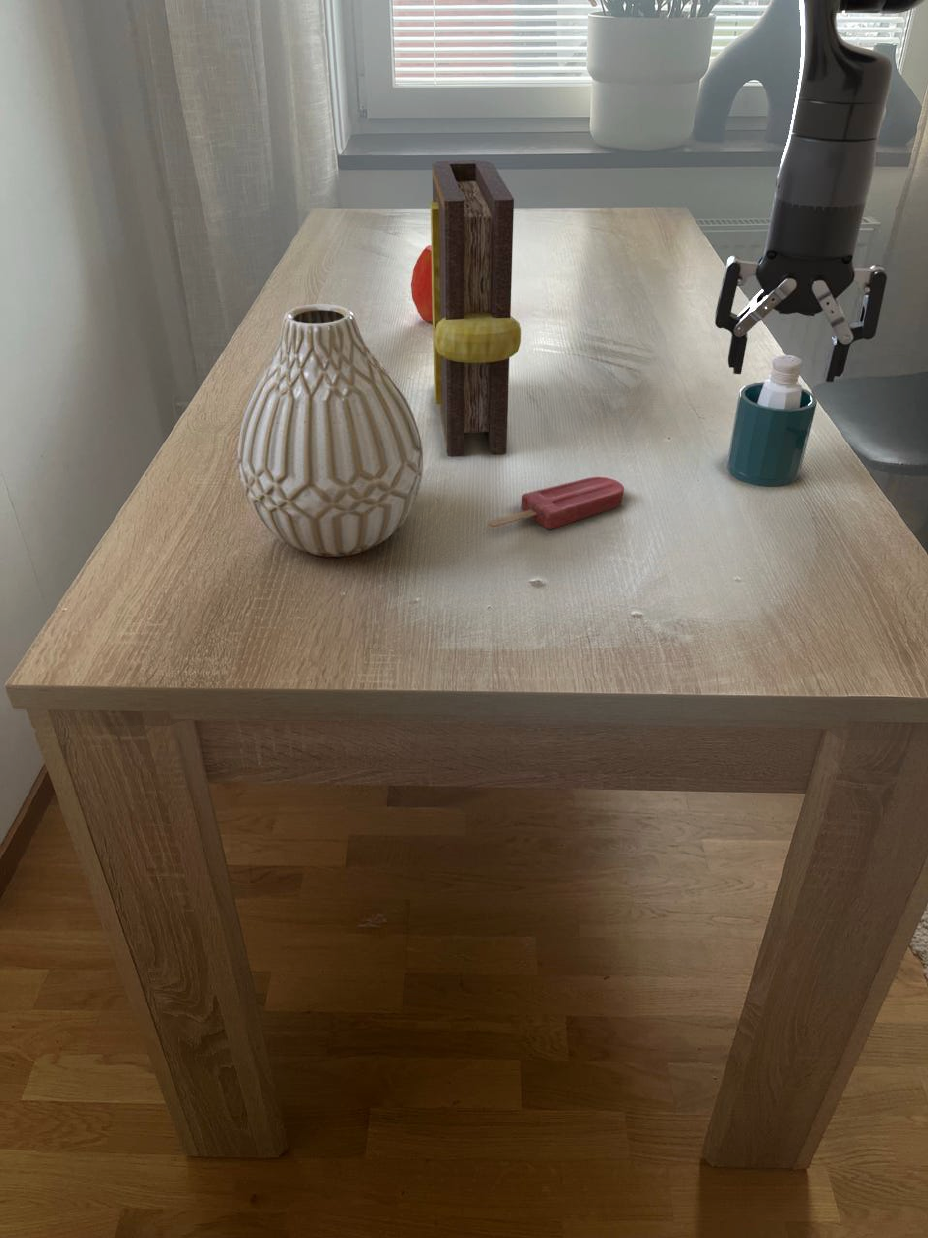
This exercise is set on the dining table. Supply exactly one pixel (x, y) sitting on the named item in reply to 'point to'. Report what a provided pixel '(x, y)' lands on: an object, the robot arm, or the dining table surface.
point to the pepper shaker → (782, 384)
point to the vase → (328, 439)
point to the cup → (769, 439)
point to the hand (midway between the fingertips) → (782, 375)
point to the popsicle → (567, 502)
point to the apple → (423, 285)
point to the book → (472, 301)
